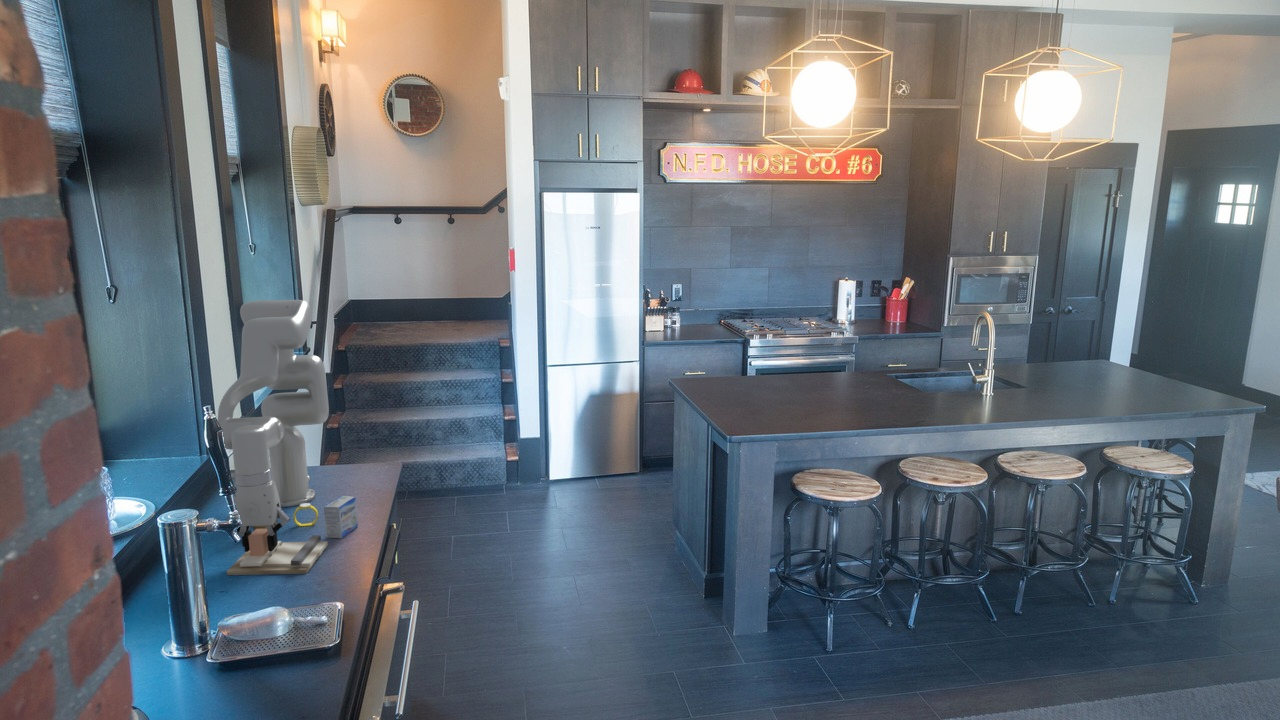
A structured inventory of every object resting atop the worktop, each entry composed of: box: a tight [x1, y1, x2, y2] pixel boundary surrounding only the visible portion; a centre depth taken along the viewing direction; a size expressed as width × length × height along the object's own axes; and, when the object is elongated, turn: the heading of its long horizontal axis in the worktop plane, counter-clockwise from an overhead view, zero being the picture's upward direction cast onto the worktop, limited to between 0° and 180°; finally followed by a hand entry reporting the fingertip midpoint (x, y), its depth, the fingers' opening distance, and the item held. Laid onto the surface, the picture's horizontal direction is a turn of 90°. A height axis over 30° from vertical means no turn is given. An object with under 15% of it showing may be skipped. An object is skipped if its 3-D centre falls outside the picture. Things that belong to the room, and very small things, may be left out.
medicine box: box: [323, 495, 359, 539], centre depth 204 cm, size 8×4×9 cm, turn 168°
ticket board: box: [226, 535, 329, 576], centre depth 189 cm, size 15×18×3 cm
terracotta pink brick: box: [240, 529, 282, 567], centre depth 188 cm, size 12×5×6 cm, turn 3°
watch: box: [292, 502, 319, 528], centre depth 209 cm, size 6×3×6 cm, turn 108°
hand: (260, 548), depth 189 cm, fingers open, 4 cm apart
